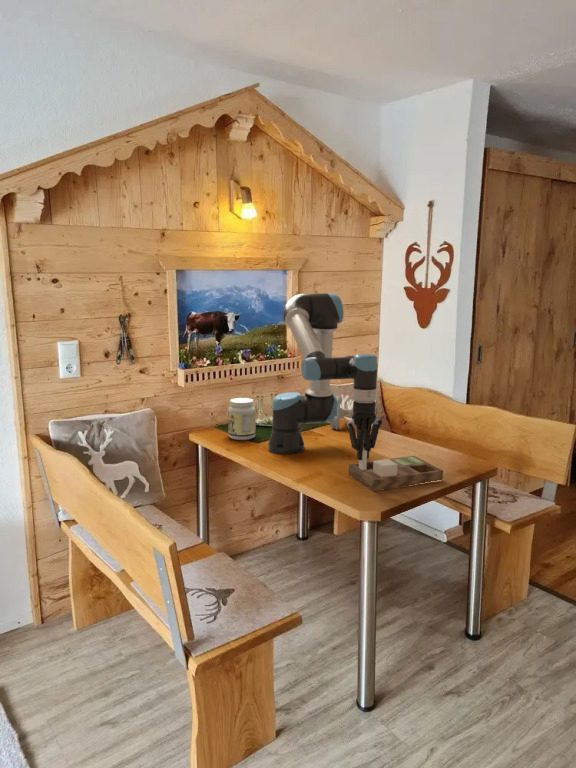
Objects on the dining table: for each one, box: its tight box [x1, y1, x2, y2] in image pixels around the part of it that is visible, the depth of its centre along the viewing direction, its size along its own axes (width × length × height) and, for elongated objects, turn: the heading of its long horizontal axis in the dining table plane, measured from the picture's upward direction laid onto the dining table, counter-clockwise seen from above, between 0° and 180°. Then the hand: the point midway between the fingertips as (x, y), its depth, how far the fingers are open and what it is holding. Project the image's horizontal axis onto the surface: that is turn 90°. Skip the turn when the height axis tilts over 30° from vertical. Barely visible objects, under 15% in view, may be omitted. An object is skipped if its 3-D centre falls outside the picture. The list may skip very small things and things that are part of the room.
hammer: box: [329, 395, 353, 430], centre depth 279 cm, size 16×5×30 cm
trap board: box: [348, 455, 444, 492], centre depth 205 cm, size 28×18×4 cm, turn 112°
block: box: [372, 458, 398, 477], centre depth 197 cm, size 6×6×4 cm
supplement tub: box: [227, 397, 256, 441], centre depth 255 cm, size 12×12×17 cm
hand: (362, 468), depth 194 cm, fingers closed
